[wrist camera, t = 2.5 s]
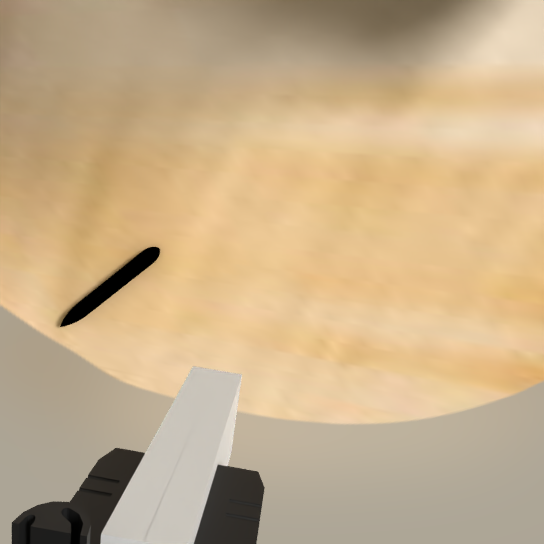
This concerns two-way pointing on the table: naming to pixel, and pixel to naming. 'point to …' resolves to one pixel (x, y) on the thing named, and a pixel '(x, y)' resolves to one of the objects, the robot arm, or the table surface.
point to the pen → (112, 285)
